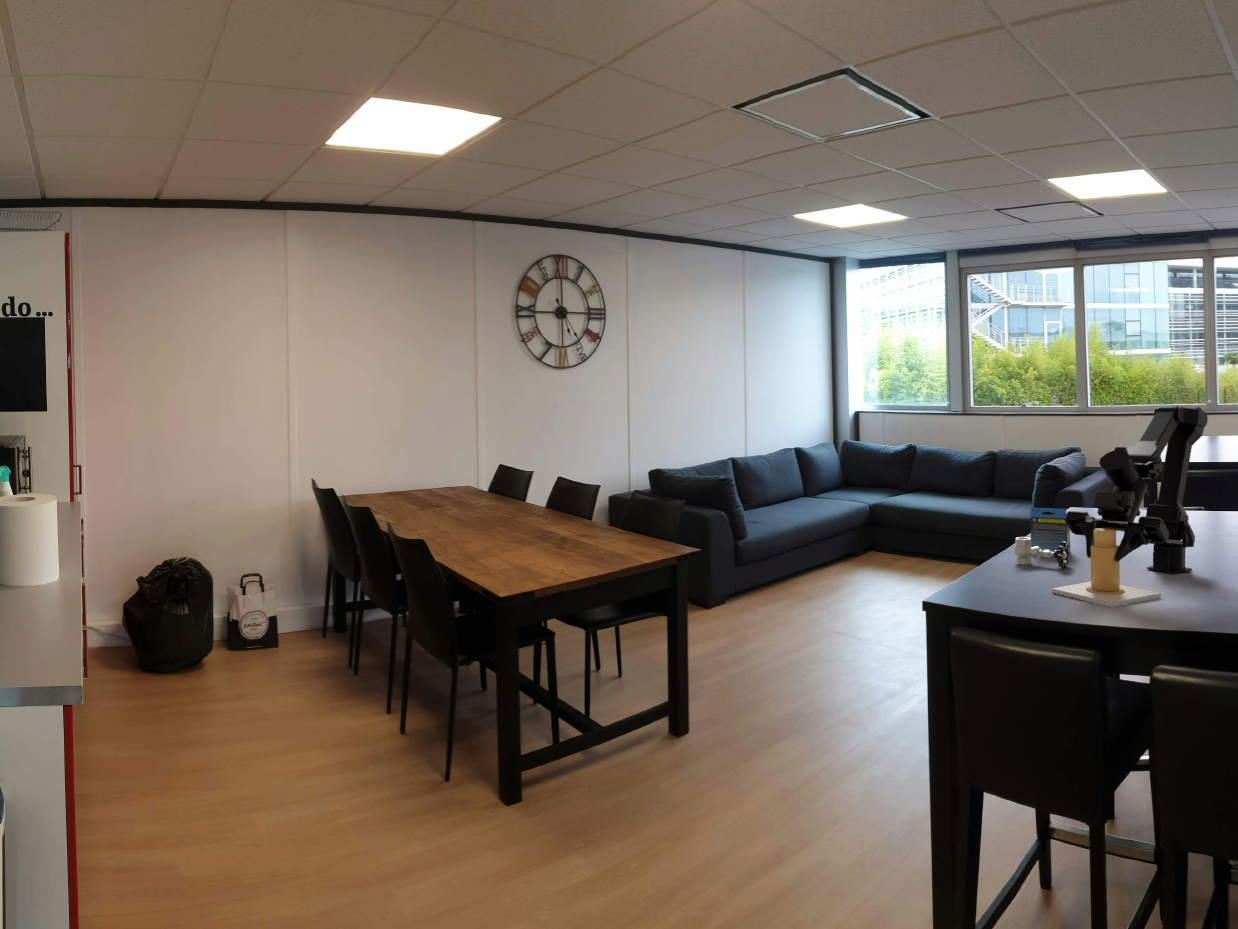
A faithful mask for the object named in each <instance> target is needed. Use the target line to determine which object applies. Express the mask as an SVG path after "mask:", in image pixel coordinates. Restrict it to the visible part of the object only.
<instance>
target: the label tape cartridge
mask: <svg viewBox="0 0 1238 929" xmlns="http://www.w3.org/2000/svg"><path fill="white" fill-rule="evenodd" d="M1047 512H1049V513H1051V514H1044V513H1047ZM1052 513H1053V514H1052ZM1066 514H1067V508H1054V507H1053V508H1052V507H1031V506H1030V518H1029V519H1030V538H1031V547H1033V548H1034V547H1035V546H1036V547H1040V549H1042V550H1043V551H1044V550H1051V552H1054V551H1055V550H1058V547H1059V546H1063V544H1061V542H1067V544H1069V545H1070V547H1069V549H1068V550H1069V551H1070V552H1071V530H1070V529H1069V527H1068V525H1067V524H1066V522H1065V520H1064V518H1065V516H1066Z"/></svg>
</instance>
